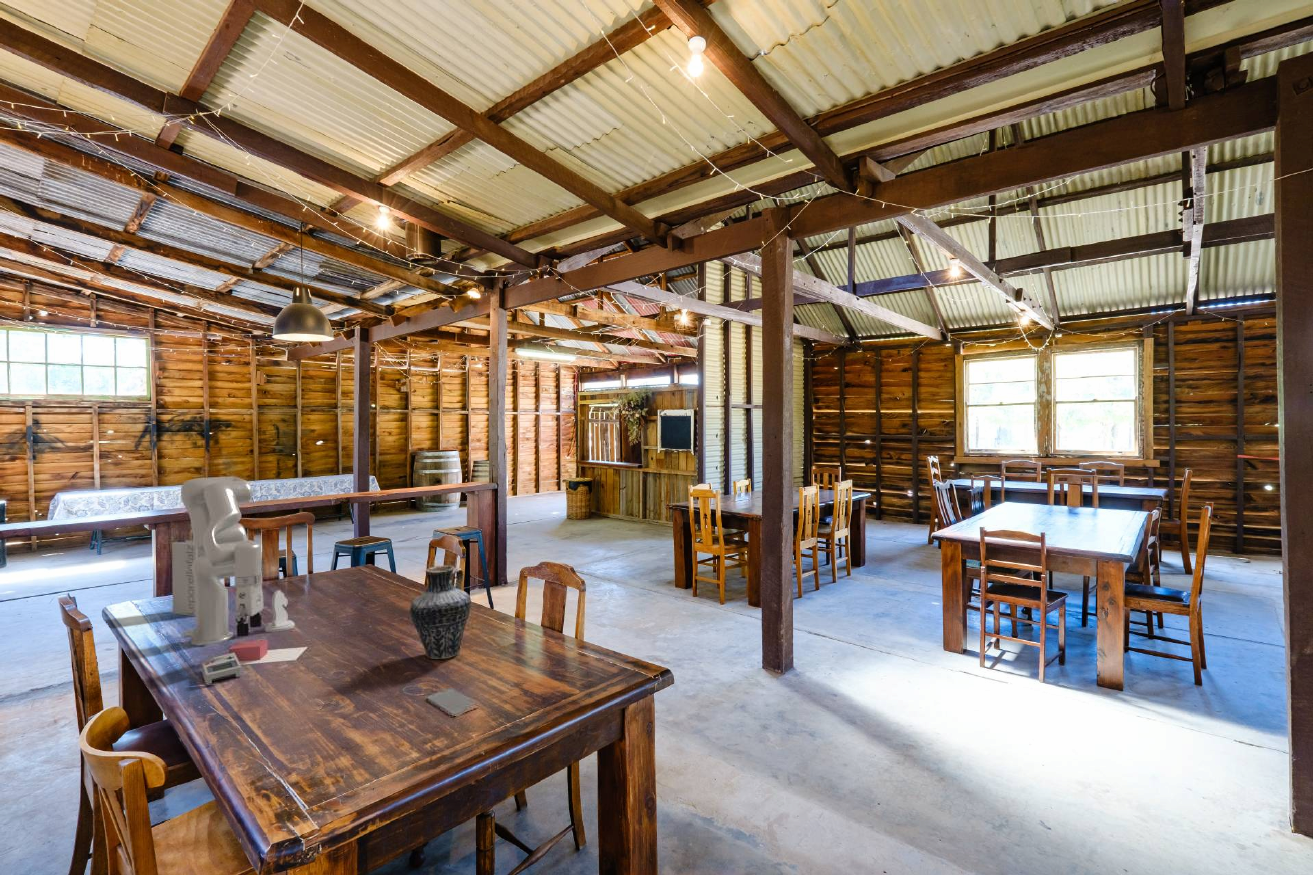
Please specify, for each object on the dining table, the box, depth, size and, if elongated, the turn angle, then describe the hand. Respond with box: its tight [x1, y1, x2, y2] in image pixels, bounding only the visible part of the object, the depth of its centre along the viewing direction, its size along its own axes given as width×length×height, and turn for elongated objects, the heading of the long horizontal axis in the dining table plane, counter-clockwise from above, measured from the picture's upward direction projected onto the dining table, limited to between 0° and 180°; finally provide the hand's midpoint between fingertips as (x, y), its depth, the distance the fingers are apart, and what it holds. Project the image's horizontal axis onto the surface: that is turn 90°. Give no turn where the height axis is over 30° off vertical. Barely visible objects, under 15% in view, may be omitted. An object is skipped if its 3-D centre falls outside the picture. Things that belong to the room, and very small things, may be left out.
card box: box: [228, 639, 268, 662], centre depth 196 cm, size 9×6×4 cm, turn 104°
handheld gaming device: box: [200, 653, 243, 685], centre depth 183 cm, size 9×15×4 cm, turn 43°
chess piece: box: [264, 589, 296, 633], centre depth 227 cm, size 10×10×15 cm
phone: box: [426, 687, 475, 715], centre depth 164 cm, size 8×16×1 cm, turn 48°
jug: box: [409, 564, 472, 660], centre depth 199 cm, size 21×19×30 cm
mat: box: [239, 646, 308, 666], centre depth 197 cm, size 22×12×1 cm, turn 104°
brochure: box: [171, 540, 206, 617], centre depth 247 cm, size 14×6×30 cm, turn 73°
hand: (249, 631), depth 195 cm, fingers open, 9 cm apart
